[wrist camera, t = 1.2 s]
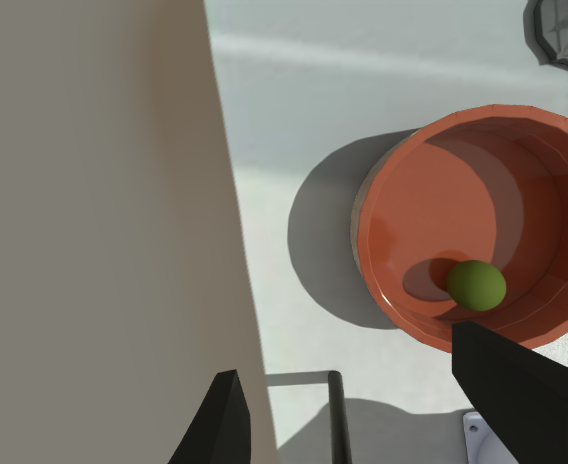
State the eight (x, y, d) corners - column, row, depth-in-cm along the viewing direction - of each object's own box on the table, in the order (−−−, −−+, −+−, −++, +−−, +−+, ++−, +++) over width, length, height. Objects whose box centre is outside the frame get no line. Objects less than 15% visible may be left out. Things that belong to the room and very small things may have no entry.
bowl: (573, 310, 19) (639, 341, 15) (366, 335, 21) (377, 369, 17) (557, 100, 18) (626, 74, 14) (335, 147, 19) (339, 136, 15)
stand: (342, 382, 22) (356, 488, 14) (329, 383, 22) (334, 489, 14) (340, 369, 22) (352, 469, 14) (326, 371, 22) (331, 470, 14)
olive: (489, 296, 19) (521, 316, 16) (441, 302, 20) (463, 323, 17) (485, 251, 19) (516, 263, 16) (435, 259, 19) (456, 271, 16)
